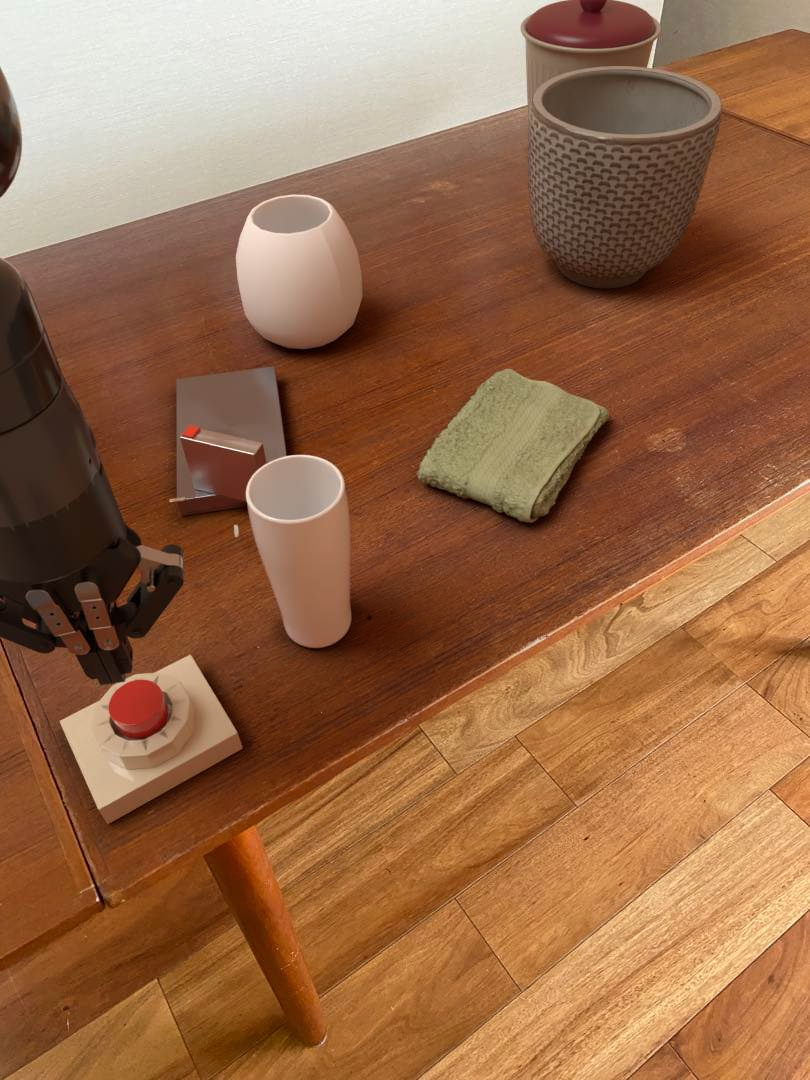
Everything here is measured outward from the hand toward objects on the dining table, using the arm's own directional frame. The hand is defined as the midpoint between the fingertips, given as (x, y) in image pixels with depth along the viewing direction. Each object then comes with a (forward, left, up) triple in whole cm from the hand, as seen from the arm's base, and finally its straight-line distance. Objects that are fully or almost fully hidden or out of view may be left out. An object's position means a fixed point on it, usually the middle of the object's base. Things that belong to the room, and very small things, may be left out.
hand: (114, 672), depth 55 cm
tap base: (+29, -7, -9) cm, 31 cm away
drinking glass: (+8, -13, -9) cm, 18 cm away
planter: (+55, -52, -9) cm, 76 cm away
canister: (+86, -59, -9) cm, 105 cm away
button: (0, 0, -6) cm, 6 cm away
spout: (+23, -7, -7) cm, 25 cm away
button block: (0, 0, -9) cm, 9 cm away
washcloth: (+25, -33, -9) cm, 43 cm away
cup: (+50, -16, -9) cm, 53 cm away
